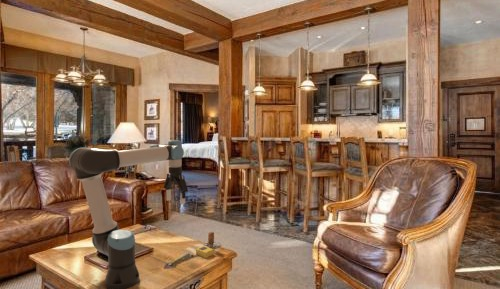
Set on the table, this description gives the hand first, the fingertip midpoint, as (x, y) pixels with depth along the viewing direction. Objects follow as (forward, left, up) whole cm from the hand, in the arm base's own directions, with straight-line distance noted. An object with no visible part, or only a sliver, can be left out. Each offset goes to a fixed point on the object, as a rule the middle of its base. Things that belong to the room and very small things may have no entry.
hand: (175, 202), depth 182 cm
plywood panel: (+6, -15, -29) cm, 33 cm away
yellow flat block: (+4, -21, -27) cm, 35 cm away
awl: (+11, -19, -27) cm, 35 cm away
